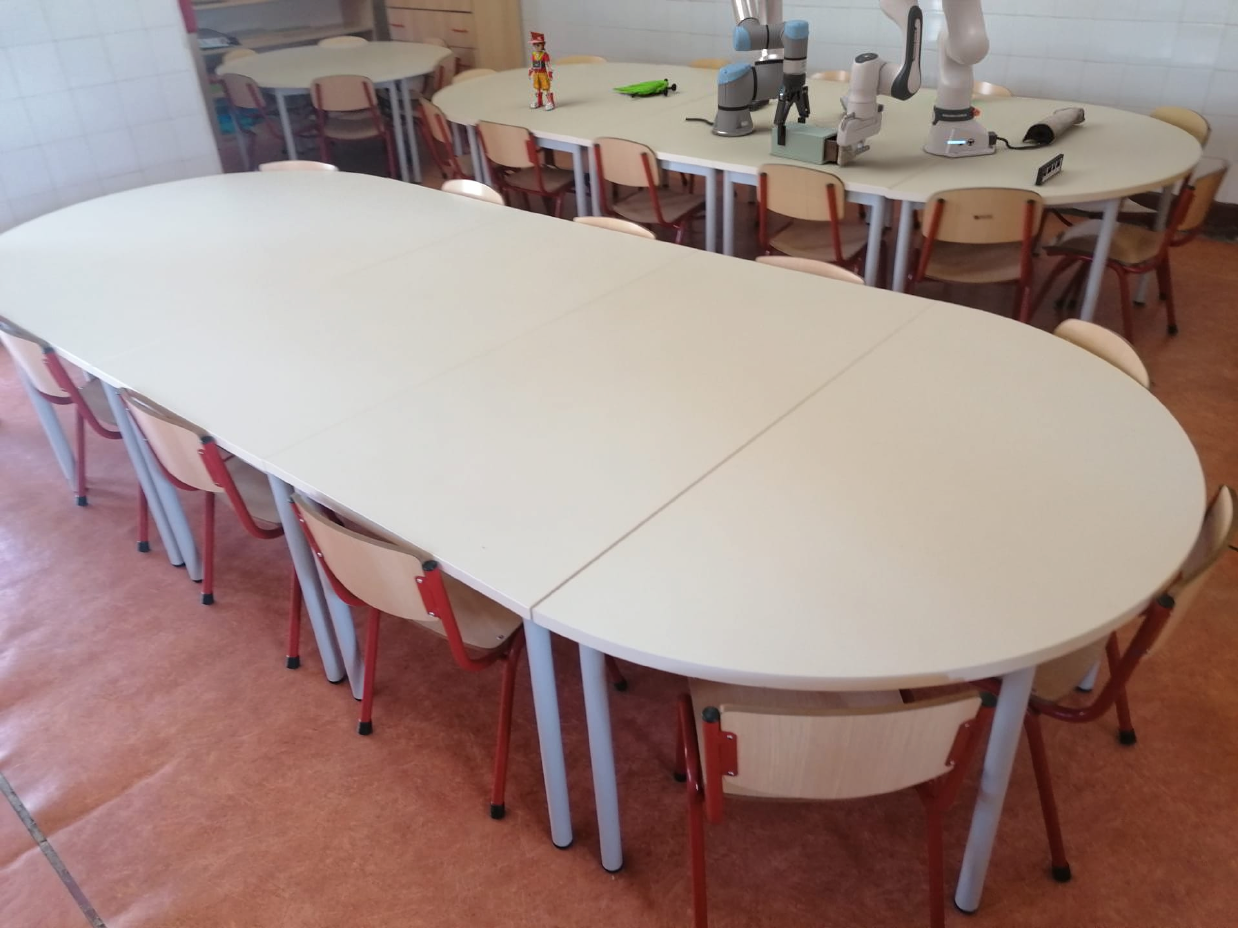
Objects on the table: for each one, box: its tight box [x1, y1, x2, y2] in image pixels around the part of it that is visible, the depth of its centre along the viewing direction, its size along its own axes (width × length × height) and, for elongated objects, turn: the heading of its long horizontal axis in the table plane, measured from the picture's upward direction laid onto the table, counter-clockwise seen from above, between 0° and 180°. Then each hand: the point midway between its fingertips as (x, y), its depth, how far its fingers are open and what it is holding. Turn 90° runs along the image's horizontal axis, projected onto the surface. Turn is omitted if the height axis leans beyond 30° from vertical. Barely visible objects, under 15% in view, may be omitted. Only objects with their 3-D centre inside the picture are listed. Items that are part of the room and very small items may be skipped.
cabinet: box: [770, 120, 839, 165], centre depth 304 cm, size 21×11×9 cm, turn 45°
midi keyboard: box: [1035, 153, 1065, 186], centre depth 273 cm, size 18×1×5 cm, turn 138°
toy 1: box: [527, 31, 556, 111], centre depth 374 cm, size 12×9×30 cm
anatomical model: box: [839, 89, 850, 112], centre depth 343 cm, size 15×10×10 cm
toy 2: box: [612, 78, 677, 99], centre depth 396 cm, size 28×5×30 cm
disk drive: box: [749, 100, 770, 111], centre depth 365 cm, size 10×3×15 cm
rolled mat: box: [1021, 106, 1086, 146], centre depth 311 cm, size 30×9×10 cm
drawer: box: [823, 135, 871, 165], centre depth 298 cm, size 25×9×7 cm, turn 45°
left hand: (790, 141), depth 308 cm, fingers closed on cabinet, 11 cm apart
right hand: (856, 154), depth 293 cm, fingers closed, pressing on drawer
